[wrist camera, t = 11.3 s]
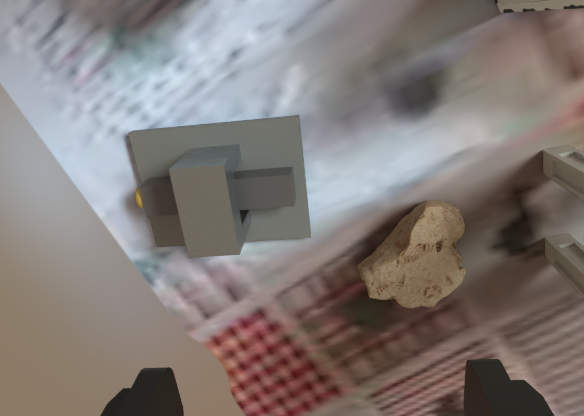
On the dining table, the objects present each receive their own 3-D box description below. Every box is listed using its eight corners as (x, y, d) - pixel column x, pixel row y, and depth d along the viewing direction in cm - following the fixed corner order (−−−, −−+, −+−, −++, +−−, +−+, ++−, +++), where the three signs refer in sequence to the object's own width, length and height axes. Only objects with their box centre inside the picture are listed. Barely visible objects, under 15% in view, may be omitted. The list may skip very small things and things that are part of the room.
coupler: (132, 130, 40) (115, 139, 37) (299, 115, 39) (296, 123, 36) (160, 242, 45) (147, 258, 42) (310, 233, 43) (309, 249, 40)
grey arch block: (192, 148, 40) (168, 169, 34) (239, 144, 39) (223, 164, 33) (207, 225, 43) (188, 257, 37) (251, 222, 42) (239, 254, 36)
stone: (347, 260, 44) (350, 286, 40) (428, 181, 40) (441, 200, 36) (409, 307, 46) (418, 337, 42) (492, 235, 42) (512, 260, 38)
